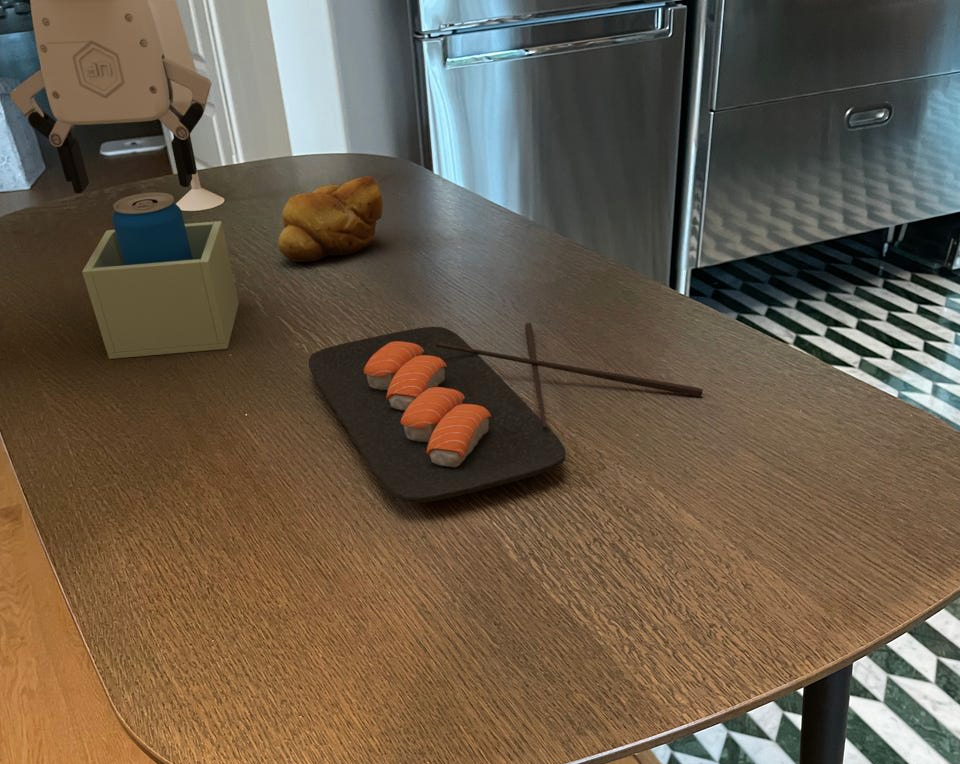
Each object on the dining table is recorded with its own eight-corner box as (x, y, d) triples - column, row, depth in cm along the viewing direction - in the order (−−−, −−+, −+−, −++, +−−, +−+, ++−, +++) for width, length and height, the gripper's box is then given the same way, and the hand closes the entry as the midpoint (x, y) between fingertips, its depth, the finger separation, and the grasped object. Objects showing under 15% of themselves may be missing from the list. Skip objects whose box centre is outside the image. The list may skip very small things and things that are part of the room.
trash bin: (109, 359, 98) (81, 271, 92) (129, 312, 107) (106, 230, 101) (227, 349, 98) (208, 261, 93) (239, 303, 107) (221, 220, 102)
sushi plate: (302, 371, 94) (295, 332, 91) (590, 309, 101) (591, 271, 99) (400, 529, 73) (394, 483, 70) (754, 435, 80) (760, 391, 78)
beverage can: (208, 308, 105) (180, 188, 97) (205, 333, 100) (176, 208, 92) (145, 315, 104) (112, 195, 97) (139, 341, 99) (104, 216, 92)
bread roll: (298, 275, 113) (286, 201, 107) (261, 253, 119) (247, 181, 114) (396, 247, 118) (388, 175, 113) (355, 227, 124) (346, 158, 119)
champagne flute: (234, 200, 135) (192, -9, 120) (192, 214, 132) (144, -1, 116) (206, 192, 139) (161, -13, 123) (164, 205, 135) (113, -4, 120)
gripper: (-39, -22, 79) (30, 204, 90) (181, -33, 80) (223, 192, 91) (-12, -35, 85) (50, 179, 96) (194, -44, 86) (232, 169, 97)
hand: (134, 186), depth 93 cm, fingers open, 9 cm apart
